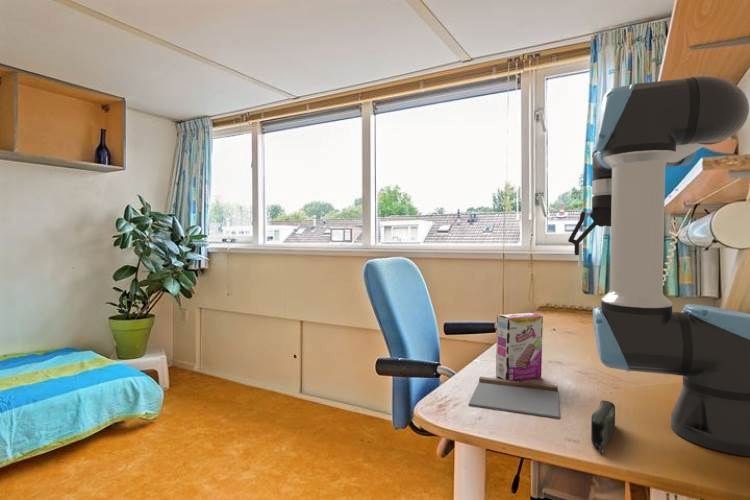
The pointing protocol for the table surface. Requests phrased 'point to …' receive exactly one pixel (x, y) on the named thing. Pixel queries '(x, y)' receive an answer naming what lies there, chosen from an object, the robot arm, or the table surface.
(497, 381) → the strip
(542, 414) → the mat
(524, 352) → the candy bar box
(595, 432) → the mobile phone
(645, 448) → the table surface
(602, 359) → the robot arm
